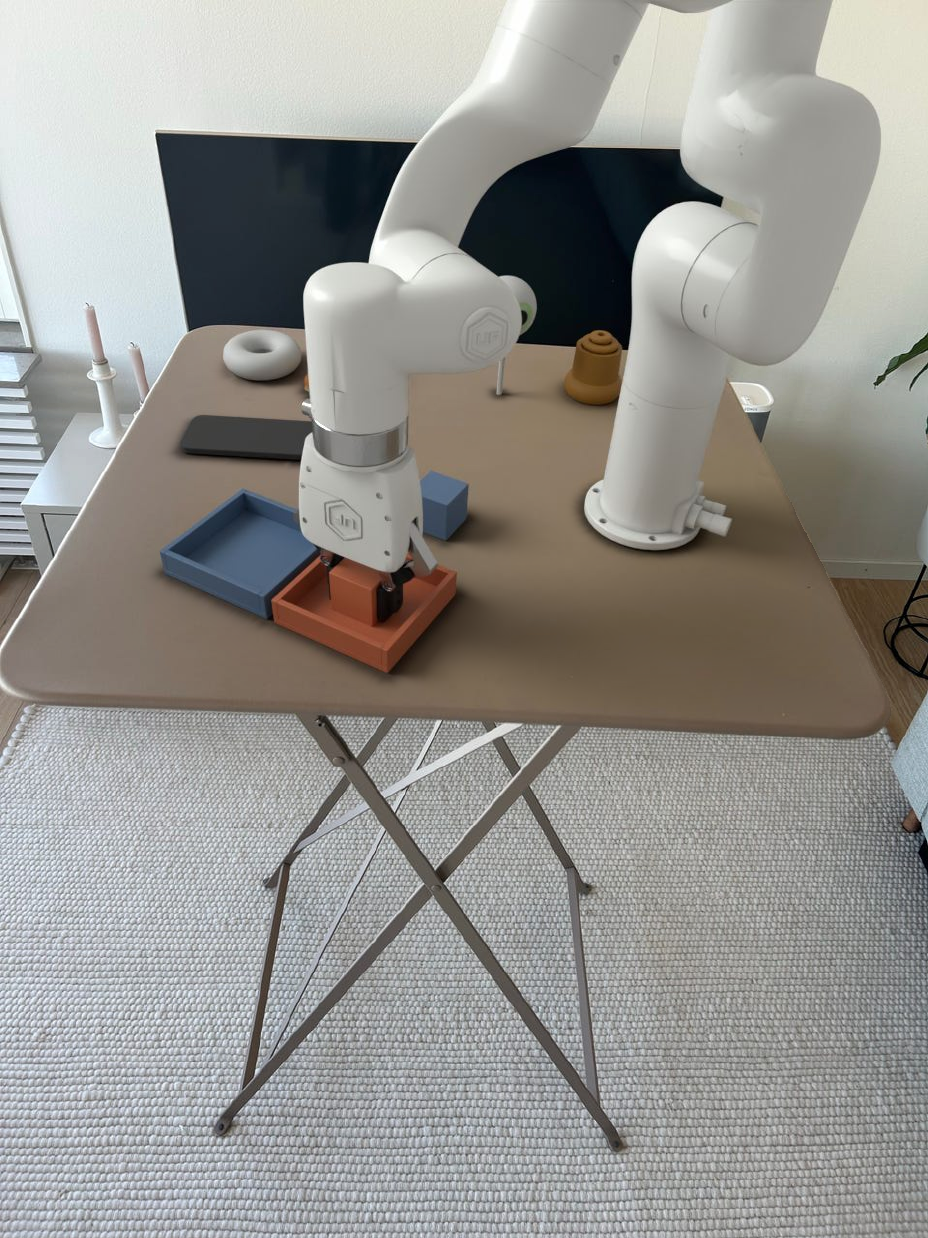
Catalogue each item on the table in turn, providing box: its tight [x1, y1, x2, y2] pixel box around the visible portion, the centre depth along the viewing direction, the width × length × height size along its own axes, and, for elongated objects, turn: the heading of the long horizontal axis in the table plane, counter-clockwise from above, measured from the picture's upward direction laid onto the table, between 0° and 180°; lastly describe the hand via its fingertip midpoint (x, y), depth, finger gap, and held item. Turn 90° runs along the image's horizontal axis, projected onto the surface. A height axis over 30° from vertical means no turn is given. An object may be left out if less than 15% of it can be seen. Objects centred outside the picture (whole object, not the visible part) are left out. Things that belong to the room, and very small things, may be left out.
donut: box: [222, 329, 302, 381], centre depth 114 cm, size 10×4×10 cm
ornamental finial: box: [563, 329, 623, 406], centre depth 112 cm, size 8×8×8 cm
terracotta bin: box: [271, 552, 458, 674], centre depth 81 cm, size 12×12×3 cm
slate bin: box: [159, 487, 320, 620], centre depth 86 cm, size 12×12×3 cm
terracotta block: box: [329, 557, 381, 627], centre depth 80 cm, size 4×4×4 cm
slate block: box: [420, 470, 470, 542], centre depth 91 cm, size 4×4×4 cm
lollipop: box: [496, 275, 538, 396], centre depth 108 cm, size 7×7×15 cm
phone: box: [179, 414, 312, 461], centre depth 102 cm, size 7×1×15 cm
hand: (365, 601), depth 82 cm, fingers closed on terracotta block, 4 cm apart
